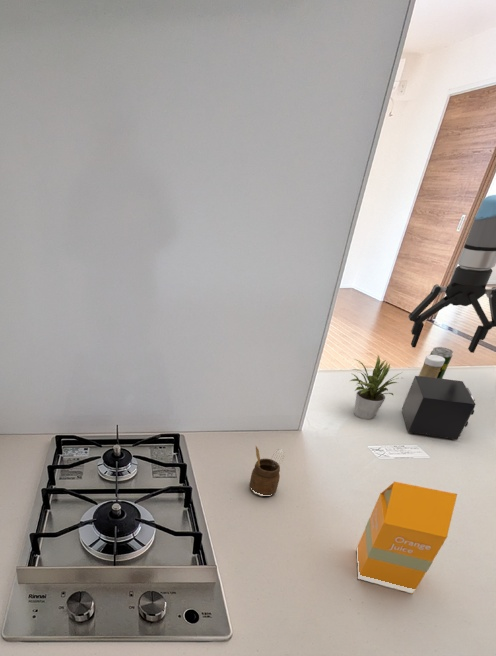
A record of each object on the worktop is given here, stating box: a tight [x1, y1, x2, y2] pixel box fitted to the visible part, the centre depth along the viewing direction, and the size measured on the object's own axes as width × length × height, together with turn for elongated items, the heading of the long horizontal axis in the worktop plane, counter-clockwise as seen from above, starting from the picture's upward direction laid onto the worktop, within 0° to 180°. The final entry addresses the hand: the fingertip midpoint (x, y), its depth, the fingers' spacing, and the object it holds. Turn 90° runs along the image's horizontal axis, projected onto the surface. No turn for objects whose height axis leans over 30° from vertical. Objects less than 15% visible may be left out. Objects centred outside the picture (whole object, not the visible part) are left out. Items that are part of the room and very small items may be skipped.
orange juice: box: [356, 481, 458, 590], centre depth 74 cm, size 8×9×20 cm
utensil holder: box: [249, 445, 284, 495], centre depth 95 cm, size 6×6×12 cm
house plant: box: [349, 355, 404, 420], centre depth 120 cm, size 14×14×16 cm
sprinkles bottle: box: [418, 354, 445, 378], centre depth 126 cm, size 5×5×14 cm
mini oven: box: [401, 375, 477, 440], centre depth 115 cm, size 12×13×11 cm
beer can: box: [429, 346, 454, 379], centre depth 132 cm, size 5×5×12 cm
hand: (441, 348), depth 120 cm, fingers open, 13 cm apart
